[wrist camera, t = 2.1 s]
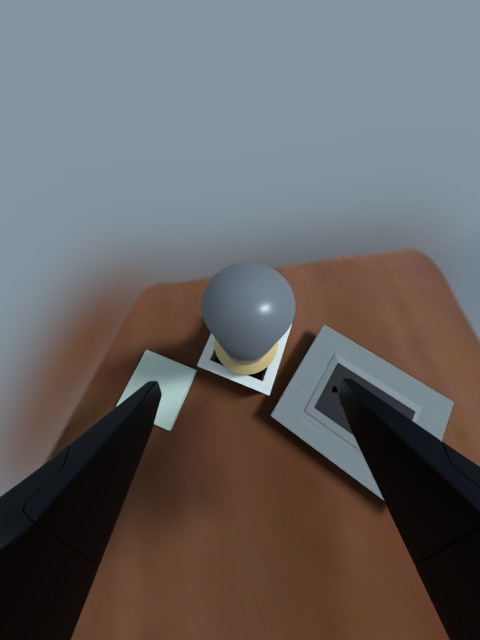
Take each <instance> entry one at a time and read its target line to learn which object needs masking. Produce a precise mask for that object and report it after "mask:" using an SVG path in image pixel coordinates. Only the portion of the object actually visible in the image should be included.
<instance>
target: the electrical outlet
mask: <svg viewBox="0 0 480 640" xmlns="http://www.w3.org/2000/svg"><path fill="white" fill-rule="evenodd" d="M343 378H351V379H353V380H354V381H356V382H357V383H359V384H360V385H362V386H363V387H364V388H366V389H367V390H369V391H370V392H372V393H373V394H375V395H376V396H377V397H379V398H380V399H382V400H383V401H385V402H386V403H388V404H389V405H390V406H392V407H393V408H395V409H396V410H398V411H399V412H400V413H402V414H403V415H405V416H406V417H408V418H409V419H411V420H412V421H413V422H415V423H416V424H418V425H419V426H421V427H422V428H424V429H425V430H426V431H428V432H429V433H431V434H432V435H434V436H435V437H437V438H438V439H439V440H441V441H442V438H443V435H444V432H445V428H446V425H447V422H448V419H449V416H450V413H451V410H452V407H453V404H454V402H452V401H451V400H449V399H447V398H446V397H444V396H443V395H441V394H439V393H438V392H436V391H434V390H433V389H431V388H429V387H428V386H426V385H424V384H423V383H421V382H419V381H418V380H416V379H414V378H413V377H411V376H409V375H408V374H406V373H404V372H403V371H401V370H399V369H398V368H396V367H394V366H393V365H391V364H389V363H388V362H386V361H384V360H383V359H381V358H379V357H378V356H376V355H374V354H373V353H371V352H369V351H368V350H366V349H364V348H363V347H361V346H359V345H358V344H356V343H354V342H353V341H351V340H349V339H348V338H346V337H344V336H343V335H341V334H339V333H338V332H336V331H334V330H333V329H331V328H329V327H328V326H326V325H323V326H322V327H321V329H320V331H319V333H318V334H317V336H316V338H315V339H314V341H313V343H312V345H311V346H310V348H309V350H308V351H307V353H306V355H305V357H304V358H303V360H302V362H301V363H300V365H299V367H298V369H297V370H296V372H295V374H294V375H293V377H292V379H291V380H290V382H289V384H288V386H287V387H286V389H285V391H284V392H283V394H282V396H281V398H280V399H279V401H278V403H277V404H276V406H275V408H274V410H273V411H272V413H271V416H272V417H273V418H274V419H276V420H277V421H278V422H280V423H281V424H282V425H284V426H285V427H286V428H288V429H289V430H290V431H292V432H293V433H294V434H296V435H297V436H298V437H300V438H301V439H302V440H304V441H305V442H306V443H308V444H309V445H310V446H312V447H313V448H314V449H316V450H317V451H318V452H320V453H321V454H322V455H324V456H325V457H326V458H328V459H329V460H330V461H332V462H333V463H334V464H336V465H337V466H338V467H340V468H341V469H342V470H344V471H345V472H346V473H348V474H349V475H350V476H352V477H353V478H354V479H356V480H357V481H358V482H360V483H361V484H362V485H364V486H365V487H366V488H368V489H369V490H370V491H372V492H373V493H374V494H376V495H377V496H378V497H380V498H381V499H382V500H384V499H383V497H382V495H381V492H380V490H379V488H378V486H377V484H376V482H375V480H374V478H373V476H372V473H371V471H370V469H369V467H368V465H367V463H366V461H365V459H364V456H363V454H362V452H361V450H360V448H359V446H358V444H357V442H356V440H355V437H354V435H353V433H352V431H351V429H350V426H349V424H348V421H347V418H346V416H345V413H344V410H343V407H342V404H341V402H340V399H339V396H338V387H339V384H340V381H341V379H343Z"/></svg>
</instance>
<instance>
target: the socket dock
mask: <svg viewBox="0 0 480 640" xmlns="http://www.w3.org/2000/svg"><path fill="white" fill-rule="evenodd" d="M291 325H292V324H291ZM290 329H291V326H290V327H289V329H288V330H287V332H286V333H285V334H284V335H283V336H282V337H281V339H280V340H279V341H278V349H277V353H276V355H275V358H274V359H273V361H272V362H271V364H270V365H269V366H268V367H266V368H265V369H264V371H263V374H262V377H261V380H258V379H256V378H253V377H251V376H248V375H242V374H237V373H234V372H232V371H230V370H229V369H227V368H226V367H225V366H223V365H221V364H218V363H216V362H215V360H216V358H217V355H216V352H215V347H214V339H215V337H214V336H213V335H212V333H211V335H210V337H209V339H208V342H207V344H206V346H205V348H204V351H203V353H202V355H201V357H200V360H199V362H198V364H197V366H198V367H201V368H203V369H206V370H208V371H210V372H213V373H215V374H218V375H220V376H223V377H225V378H228V379H230V380H233V381H235V382H237V383H240V384H242V385H245V386H247V387H250V388H252V389H255V390H257V391H259V392H262V393H264V394H267V395H269V396H270V392H271V389H272V386H273V383H274V380H275V376H276V373H277V370H278V367H279V364H280V361H281V357H282V354H283V351H284V348H285V345H286V341H287V338H288V335H289V332H290Z"/></svg>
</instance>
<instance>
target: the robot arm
mask: <svg viewBox="0 0 480 640" xmlns="http://www.w3.org/2000/svg"><path fill="white" fill-rule="evenodd" d="M161 396H162V393H161V389H160V386H159V383H158V382H157V381H148V382H147V383H145V384H144V385H143V386H142V387H141V388H139V389H138V390H137V391H136V392H134V393H133V394H132V395H131V396H129V397H128V398H127V399H126V400H124V401H123V402H122V403H121V404H119V405H118V406H117V407H116V408H114V409H113V410H112V411H111V412H109V413H108V414H107V415H106V416H104V417H103V418H102V419H101V420H99V421H98V422H97V423H96V424H94V425H93V426H92V427H91V428H89V429H88V430H87V431H86V432H84V433H83V434H82V435H81V436H80V437H78V438H77V439H76V440H75V441H73V442H72V443H71V444H70V445H68V446H67V447H66V448H64V449H63V450H62V451H61V452H59V453H58V454H57V455H56V456H54V457H53V458H52V459H51V460H49V461H48V462H47V463H45V464H44V465H43V466H42V467H40V468H39V469H38V470H36V471H35V472H34V473H32V474H31V475H30V476H28V477H27V478H26V479H24V480H23V481H21V483H19V484H17V485H16V486H15V487H14V488H12V489H10V490H9V491H8V492H7V493H5V494H4V495H3V496H1V497H0V640H71V637H72V635H73V632H74V630H75V627H76V624H77V622H78V619H79V617H80V614H81V612H82V609H83V606H84V604H85V601H86V599H87V596H88V594H89V591H90V588H91V586H92V583H93V581H94V578H95V576H96V573H97V570H98V568H99V566H98V565H99V564H100V562H101V560H102V557H103V555H104V552H105V549H106V547H107V544H108V542H109V539H110V537H111V534H112V531H113V529H114V526H115V524H116V521H117V519H118V516H119V513H120V511H121V508H122V506H123V503H124V501H125V498H126V495H127V493H128V490H129V488H130V485H131V483H132V480H133V478H134V475H135V472H136V470H137V467H138V465H139V462H140V460H141V457H142V454H143V452H144V449H145V447H146V444H147V442H148V439H149V436H150V434H151V431H152V428H153V425H154V421H155V418H156V414H157V411H158V407H159V403H160V400H161ZM338 396H339V399H340V402H341V404H342V407H343V410H344V413H345V416H346V418H347V421H348V424H349V426H350V429H351V431H352V433H353V435H354V437H355V440H356V442H357V444H358V446H359V448H360V450H361V452H362V454H363V456H364V459H365V461H366V463H367V465H368V467H369V469H370V471H371V473H372V476H373V478H374V480H375V482H376V484H377V486H378V488H379V490H380V492H381V495H382V497H383V499H384V501H385V503H386V505H387V507H388V509H389V512H390V514H391V516H392V518H393V520H394V522H395V524H396V526H397V528H398V531H399V533H400V535H401V537H402V539H403V541H404V543H405V545H406V548H407V550H408V552H409V554H410V556H411V558H412V560H413V562H414V564H415V565H416V569H417V571H418V573H419V575H420V578H421V580H422V582H423V584H424V586H425V588H426V590H427V592H428V595H429V597H430V599H431V601H432V603H433V605H434V607H435V609H436V611H437V614H438V616H439V618H440V620H441V622H442V624H443V626H444V628H445V631H446V633H447V635H448V637H449V639H450V640H480V467H479V466H478V465H476V464H475V463H473V462H472V461H470V460H469V459H467V458H466V457H464V456H463V455H461V454H460V453H458V452H457V451H455V450H454V449H453V448H451V447H450V446H448V445H447V444H445V443H444V442H441V440H439V439H438V438H437V437H435V436H434V435H432V434H431V433H429V432H428V431H426V430H425V429H424V428H422V427H421V426H419V425H418V424H416V423H415V422H413V421H412V420H411V419H409V418H408V417H406V416H405V415H403V414H402V413H400V412H399V411H398V410H396V409H395V408H393V407H392V406H390V405H389V404H388V403H386V402H385V401H383V400H382V399H380V398H379V397H377V396H376V395H375V394H373V393H372V392H370V391H369V390H367V389H366V388H364V387H363V386H362V385H360V384H359V383H357V382H356V381H354V380H353V379H351V378H343V379H341V381H340V384H339V387H338Z"/></svg>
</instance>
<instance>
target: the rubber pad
mask: <svg viewBox="0 0 480 640" xmlns="http://www.w3.org/2000/svg"><path fill="white" fill-rule="evenodd" d="M196 372H197V370H195V369H193V368H190V367H188V366H185V365H183V364H181V363H178V362H176V361H173V360H171V359H168V358H166V357H164V356H161V355H159V354H156V353H154V352H151V351H149V350H146V351H145V353H144V355H143V357H142V359H141V360H140V362H139V364H138V366H137V368H136V370H135V372H134V374H133V375H132V377H131V379H130V381H129V383H128V385H127V387H126V389H125V390H124V392H123V394H122V396H121V398H120V400H119V402H118V403H117V405H116V406H118V405H119V404H121V403H122V402H123V401H124V400H126V399H127V398H128V397H129V396H131V395H132V394H133V393H134V392H136V391H137V390H138V389H139V388H141V387H142V386H143V385H144V384H145V383H147V382H148V381H157V382H158V383H159V386H160V389H161V393H162V396H161V400H160V403H159V407H158V411H157V414H156V418H155V421H154V424H155V425H157V426H160V427H162V428H164V429H166V430H168V431H170V430H172V427H173V425H174V423H175V420H176V418H177V416H178V414H179V411H180V409H181V407H182V404H183V402H184V400H185V398H186V395H187V393H188V391H189V388H190V386H191V384H192V382H193V379H194V377H195V375H196Z"/></svg>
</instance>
